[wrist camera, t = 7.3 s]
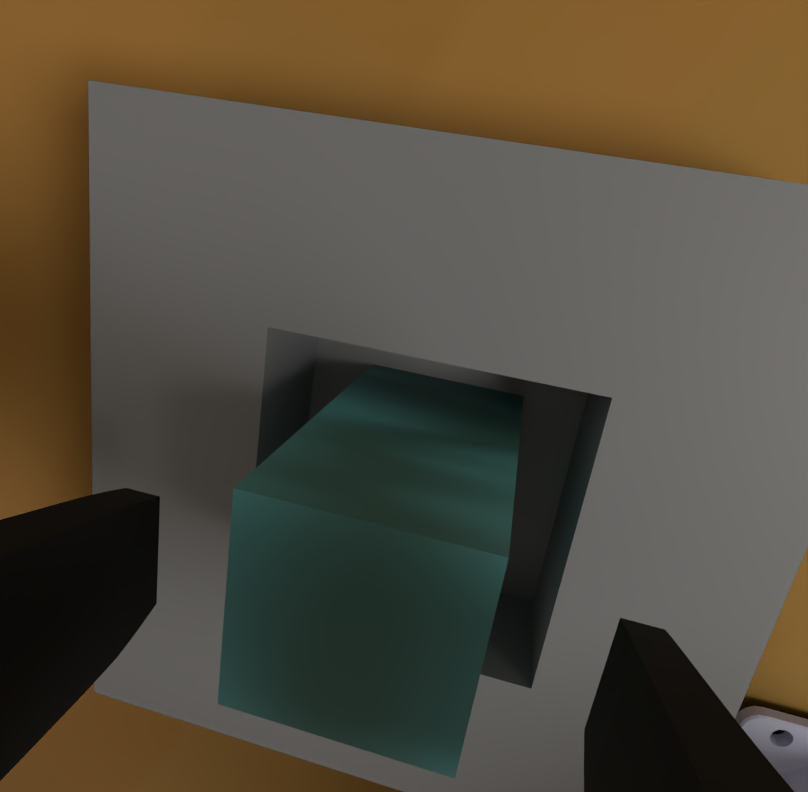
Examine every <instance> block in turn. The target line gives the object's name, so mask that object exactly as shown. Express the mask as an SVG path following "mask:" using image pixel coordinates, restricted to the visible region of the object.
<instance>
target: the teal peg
mask: <svg viewBox="0 0 808 792" xmlns="http://www.w3.org/2000/svg"><path fill="white" fill-rule="evenodd" d="M523 399H524V396H521V395H516V394H512V393H507V392H502V391H497V390H493V389H488V388H483V387H478V386H474V385H469V384H464V383H459V382H455V381H450V380H445V379H441V378H436V377H431V376H426V375H422V374H417V373H412V372H407V371H403V370H398V369H393V368H389V367H384V366H379V365H374V364H373V365H372V366H371V367H369V368H368V369H367V370H366V371H365V372H364V373H363V374H362V375H360V376H359V377H358V378H357V379H356V380H355V381H354V382H353V383H351V384H350V385H349V386H348V387H347V388H346V389H345V390H343V391H342V392H341V393H340V394H339V395H338V396H337V397H336V398H334V399H333V400H332V401H331V402H330V403H329V404H328V405H327V406H325V407H324V408H323V409H322V410H321V411H320V412H319V413H318V414H316V415H315V416H314V417H313V418H312V419H311V420H310V421H308V422H307V423H306V424H305V425H304V426H303V427H302V428H301V429H299V430H298V431H297V432H296V433H295V434H294V435H293V436H292V437H290V438H289V439H288V440H287V441H286V442H285V443H284V444H282V445H281V446H280V447H279V448H278V449H277V450H276V451H275V452H273V453H272V454H271V455H270V456H269V457H268V458H267V459H266V460H264V461H263V462H262V463H261V464H260V465H259V466H258V467H257V468H255V469H254V470H253V471H252V472H251V473H250V474H249V475H247V476H246V477H245V478H244V479H243V480H242V481H241V482H240V483H238V484H237V485H236V486H235V487H234V488H233V500H232V514H231V527H230V541H229V554H228V568H227V581H226V595H225V608H224V622H223V635H222V649H221V662H220V676H219V689H218V703H217V704H219V705H223V706H226V707H229V708H232V709H235V710H239V711H242V712H245V713H248V714H251V715H254V716H258V717H261V718H264V719H267V720H270V721H273V722H277V723H280V724H283V725H286V726H289V727H292V728H296V729H299V730H302V731H305V732H308V733H311V734H315V735H318V736H321V737H324V738H327V739H330V740H334V741H337V742H340V743H343V744H346V745H349V746H353V747H356V748H359V749H362V750H365V751H369V752H372V753H375V754H378V755H381V756H384V757H388V758H391V759H394V760H397V761H400V762H403V763H407V764H410V765H413V766H416V767H419V768H422V769H426V770H429V771H432V772H435V773H438V774H441V775H445V776H448V777H451V778H454V779H455V776H456V772H457V768H458V764H459V760H460V756H461V751H462V747H463V743H464V739H465V735H466V731H467V727H468V723H469V719H470V715H471V711H472V706H473V702H474V698H475V694H476V690H477V686H478V682H479V678H480V674H481V670H482V665H483V661H484V657H485V653H486V649H487V645H488V641H489V637H490V633H491V629H492V624H493V620H494V616H495V612H496V608H497V604H498V600H499V596H500V592H501V588H502V584H503V579H504V575H505V571H506V567H507V563H508V559H509V550H510V539H511V528H512V517H513V507H514V496H515V485H516V474H517V464H518V453H519V442H520V431H521V420H522V410H523Z"/></svg>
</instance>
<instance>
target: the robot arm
mask: <svg viewBox="0 0 808 792" xmlns="http://www.w3.org/2000/svg"><path fill="white" fill-rule="evenodd" d="M159 513H160V497H159V496H156V495H152V494H148V493H144V492H140V491H136V490H133V489H129V488H122V489H117V490H111V491H106V492H102V493H98V494H94V495H90V496H86V497H82V498H78V499H74V500H71V501H67V502H63V503H59V504H56V505H52V506H49V507H45V508H42V509H38V510H34V511H31V512H27V513H24V514H20V515H16V516H13V517H9V518H6V519H2V520H0V781H1V780H2V779H3V777H4V776H5V775H6V774H7V773H8V772H9V771H10V770H11V769H12V768H13V767H14V766H15V765H16V764H17V763H18V762H19V761H20V760H21V759H22V758H23V757H24V756H25V754H26V753H27V752H28V751H29V750H30V749H31V748H32V747H33V746H34V745H35V744H36V743H37V742H38V741H39V740H40V739H41V738H42V737H43V736H44V735H45V734H46V733H47V731H48V730H49V729H50V728H51V727H52V726H53V725H54V724H55V723H56V722H57V721H58V720H59V719H60V718H61V717H62V716H63V715H64V714H65V713H66V712H67V711H68V710H69V709H70V707H71V706H72V705H73V704H74V703H75V702H76V701H77V700H78V699H79V698H80V697H81V696H82V695H83V694H84V693H85V692H86V691H87V689H88V688H89V687H90V686H91V685H92V684H93V683H94V682H95V681H96V680H97V679H98V678H99V677H100V676H101V675H102V674H103V672H104V671H105V670H106V669H107V668H108V667H109V666H110V665H111V664H112V663H113V662H114V660H115V659H116V658H117V657H118V656H119V654H120V653H121V652H122V650H123V649H124V648H125V646H126V645H127V644H128V643H129V641H130V640H131V639H132V637H133V636H134V635H135V633H136V632H137V631H138V629H139V628H140V626H141V625H142V624H143V622H144V621H145V619H146V618H147V617H148V615H149V614H150V612H151V611H152V609H153V608H154V607H155V605H156V604H157V575H158V544H159ZM777 730H786V731H785V732H784V733H781V734H772V733H773V732H774V731H777ZM584 792H808V719H805V718H802V717H798V716H794V715H791V714H787V713H783V712H780V711H776V710H772V709H769V708H765V707H760V706H751V707H746V708H744V709H742V710H741V711H739V713H738V714H737V716H736V718H734V717H733V716H732V715H731V713H730V712H729V711H728V709H727V708H726V707H725V706H724V704H723V703H722V702H721V700H720V699H719V698H718V697H717V695H716V694H715V693H714V691H713V690H712V689H711V687H710V686H709V685H708V684H707V682H706V681H705V680H704V678H703V677H702V676H701V674H700V673H699V672H698V671H697V669H696V668H695V667H694V665H693V664H692V663H691V661H690V660H689V659H688V657H687V656H686V655H685V654H684V652H683V651H682V650H681V648H680V647H679V646H678V645H677V643H676V642H675V641H674V640H673V638H672V637H671V636H670V635H669V634H668V632H667V631H666V630H665V629H661V628H658V627H654V626H650V625H646V624H642V623H639V622H635V621H631V620H627V619H623V618H620V620H619V623H618V626H617V629H616V632H615V635H614V639H613V642H612V645H611V648H610V651H609V654H608V657H607V660H606V664H605V667H604V670H603V673H602V676H601V679H600V682H599V685H598V688H597V692H596V695H595V698H594V701H593V704H592V707H591V710H590V713H589V717H588V720H587V723H586V726H585V729H584Z"/></svg>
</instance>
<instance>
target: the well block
mask: <svg viewBox="0 0 808 792" xmlns="http://www.w3.org/2000/svg"><path fill="white" fill-rule="evenodd" d="M88 103H89V209H90V316H91V423H92V495H94V494H98V493H102V492H106V491H111V490H117V489H122V488H129V489H133V490H136V491H140V492H144V493H148V494H152V495H156V496H159V497H160V513H159V544H158V575H157V604H156V605H155V607H154V608H153V609H152V611H151V612H150V614H149V615H148V617H147V618H146V619H145V621H144V622H143V624H142V625H141V626H140V628H139V629H138V631H137V632H136V633H135V635H134V636H133V637H132V639H131V640H130V641H129V643H128V644H127V645H126V646H125V648H124V649H123V650H122V652H121V653H120V654H119V656H118V657H117V658H116V659H115V660H114V662H113V663H112V664H111V665H110V666H109V667H108V668H107V669H106V670H105V671H104V672H103V674H102V675H101V676H100V677H99V678H98V679H97V680H96V681H95V682H94V692H95V693H98V694H101V695H104V696H107V697H111V698H114V699H117V700H120V701H123V702H126V703H129V704H132V705H135V706H138V707H142V708H145V709H148V710H151V711H154V712H157V713H160V714H163V715H166V716H169V717H173V718H176V719H179V720H182V721H185V722H188V723H191V724H194V725H197V726H201V727H204V728H207V729H210V730H213V731H216V732H219V733H222V734H225V735H228V736H232V737H235V738H238V739H241V740H244V741H247V742H250V743H253V744H256V745H260V746H263V747H266V748H269V749H272V750H275V751H278V752H281V753H284V754H287V755H291V756H294V757H297V758H300V759H303V760H306V761H309V762H312V763H315V764H318V765H322V766H325V767H328V768H331V769H334V770H337V771H340V772H343V773H346V774H350V775H353V776H356V777H359V778H362V779H365V780H368V781H371V782H374V783H377V784H381V785H384V786H387V787H390V788H393V789H396V790H399V791H402V792H584V729H585V726H586V723H587V720H588V717H589V713H590V710H591V707H592V704H593V701H594V698H595V695H596V692H597V688H598V685H599V682H600V679H601V676H602V673H603V670H604V667H605V664H606V660H607V657H608V654H609V651H610V648H611V645H612V642H613V639H614V635H615V632H616V629H617V626H618V623H619V620H620V618H623V619H627V620H631V621H635V622H639V623H642V624H646V625H650V626H654V627H658V628H661V629H665V630H666V631H667V632H668V634H669V635H670V636H671V637H672V638H673V640H674V641H675V642H676V643H677V645H678V646H679V647H680V648H681V650H682V651H683V652H684V654H685V655H686V656H687V657H688V659H689V660H690V661H691V663H692V664H693V665H694V667H695V668H696V669H697V671H698V672H699V673H700V674H701V676H702V677H703V678H704V680H705V681H706V682H707V684H708V685H709V686H710V687H711V689H712V690H713V691H714V693H715V694H716V695H717V697H718V698H719V699H720V700H721V702H722V703H723V704H724V706H725V707H726V708H727V709H728V711H729V712H730V713H731V715H732V716H733V717H734V718H736V716H737V713H738V711H739V709H740V706H741V704H742V701H743V699H744V697H745V694H746V692H747V690H748V687H749V685H750V682H751V680H752V678H753V675H754V673H755V671H756V668H757V666H758V663H759V661H760V659H761V656H762V654H763V652H764V649H765V647H766V644H767V642H768V640H769V637H770V635H771V633H772V630H773V628H774V625H775V623H776V621H777V618H778V616H779V614H780V611H781V609H782V606H783V604H784V602H785V599H786V597H787V595H788V592H789V590H790V587H791V585H792V583H793V580H794V578H795V576H796V573H797V571H798V568H799V566H800V564H801V561H802V559H803V557H804V554H805V552H806V549H807V547H808V185H807V184H800V183H793V182H786V181H779V180H772V179H765V178H759V177H752V176H745V175H738V174H731V173H724V172H717V171H710V170H703V169H696V168H690V167H683V166H676V165H669V164H662V163H655V162H648V161H641V160H634V159H628V158H621V157H614V156H607V155H600V154H593V153H586V152H579V151H572V150H566V149H559V148H552V147H545V146H538V145H531V144H524V143H517V142H510V141H504V140H497V139H490V138H483V137H476V136H469V135H462V134H455V133H448V132H442V131H435V130H428V129H421V128H414V127H407V126H400V125H393V124H386V123H379V122H373V121H366V120H359V119H352V118H345V117H338V116H331V115H324V114H317V113H311V112H304V111H297V110H290V109H283V108H276V107H269V106H262V105H255V104H249V103H242V102H235V101H228V100H221V99H214V98H207V97H200V96H193V95H187V94H180V93H173V92H166V91H159V90H152V89H145V88H138V87H131V86H124V85H118V84H111V83H104V82H97V81H90V80H88ZM373 364H374V365H379V366H384V367H389V368H393V369H398V370H403V371H407V372H412V373H417V374H422V375H426V376H431V377H436V378H441V379H445V380H450V381H455V382H459V383H464V384H469V385H474V386H478V387H483V388H488V389H493V390H497V391H502V392H507V393H512V394H516V395H521V396H524V399H523V410H522V420H521V431H520V442H519V453H518V464H517V474H516V485H515V496H514V507H513V517H512V528H511V539H510V550H509V559H508V563H507V567H506V571H505V575H504V579H503V584H502V588H501V592H500V596H499V600H498V604H497V608H496V612H495V616H494V620H493V624H492V629H491V633H490V637H489V641H488V645H487V649H486V653H485V657H484V661H483V665H482V670H481V674H480V678H479V682H478V686H477V690H476V694H475V698H474V702H473V706H472V711H471V715H470V719H469V723H468V727H467V731H466V735H465V739H464V743H463V747H462V751H461V756H460V760H459V764H458V768H457V772H456V776H455V779H454V778H451V777H448V776H445V775H441V774H438V773H435V772H432V771H429V770H426V769H422V768H419V767H416V766H413V765H410V764H407V763H403V762H400V761H397V760H394V759H391V758H388V757H384V756H381V755H378V754H375V753H372V752H369V751H365V750H362V749H359V748H356V747H353V746H349V745H346V744H343V743H340V742H337V741H334V740H330V739H327V738H324V737H321V736H318V735H315V734H311V733H308V732H305V731H302V730H299V729H296V728H292V727H289V726H286V725H283V724H280V723H277V722H273V721H270V720H267V719H264V718H261V717H258V716H254V715H251V714H248V713H245V712H242V711H239V710H235V709H232V708H229V707H226V706H223V705H219V704H217V703H218V689H219V676H220V662H221V649H222V635H223V622H224V608H225V595H226V581H227V568H228V554H229V541H230V527H231V514H232V500H233V488H234V487H235V486H236V485H237V484H238V483H240V482H241V481H242V480H243V479H244V478H245V477H246V476H247V475H249V474H250V473H251V472H252V471H253V470H254V469H255V468H257V467H258V466H259V465H260V464H261V463H262V462H263V461H264V460H266V459H267V458H268V457H269V456H270V455H271V454H272V453H273V452H275V451H276V450H277V449H278V448H279V447H280V446H281V445H282V444H284V443H285V442H286V441H287V440H288V439H289V438H290V437H292V436H293V435H294V434H295V433H296V432H297V431H298V430H299V429H301V428H302V427H303V426H304V425H305V424H306V423H307V422H308V421H310V420H311V419H312V418H313V417H314V416H315V415H316V414H318V413H319V412H320V411H321V410H322V409H323V408H324V407H325V406H327V405H328V404H329V403H330V402H331V401H332V400H333V399H334V398H336V397H337V396H338V395H339V394H340V393H341V392H342V391H343V390H345V389H346V388H347V387H348V386H349V385H350V384H351V383H353V382H354V381H355V380H356V379H357V378H358V377H359V376H360V375H362V374H363V373H364V372H365V371H366V370H367V369H368V368H369V367H371V366H372V365H373Z"/></svg>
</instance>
